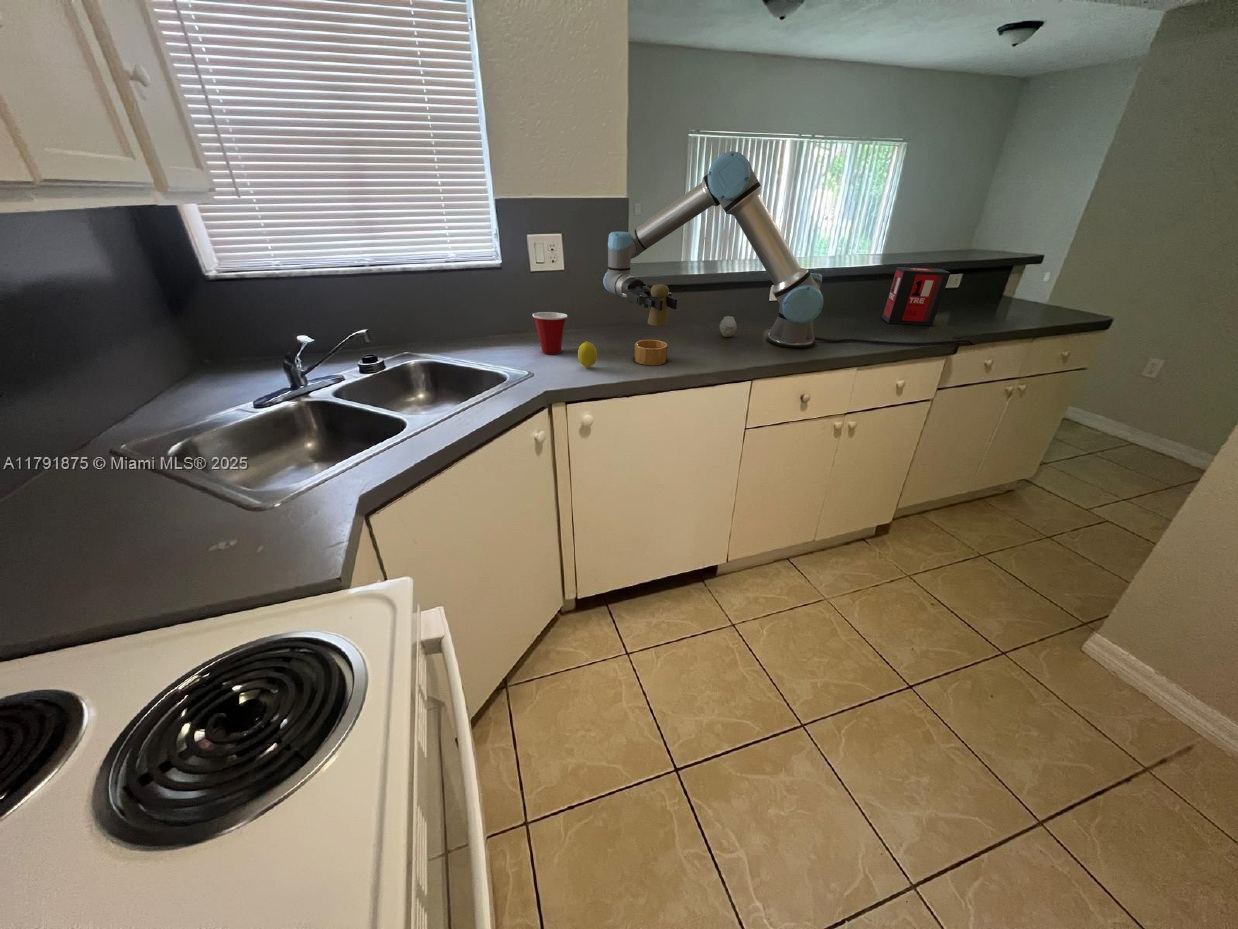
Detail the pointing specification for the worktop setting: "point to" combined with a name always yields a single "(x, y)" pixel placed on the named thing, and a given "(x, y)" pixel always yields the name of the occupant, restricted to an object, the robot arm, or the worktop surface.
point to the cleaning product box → (915, 295)
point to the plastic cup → (550, 330)
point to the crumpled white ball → (728, 326)
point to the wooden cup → (650, 352)
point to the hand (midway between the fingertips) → (668, 304)
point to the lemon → (587, 354)
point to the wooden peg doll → (661, 316)
